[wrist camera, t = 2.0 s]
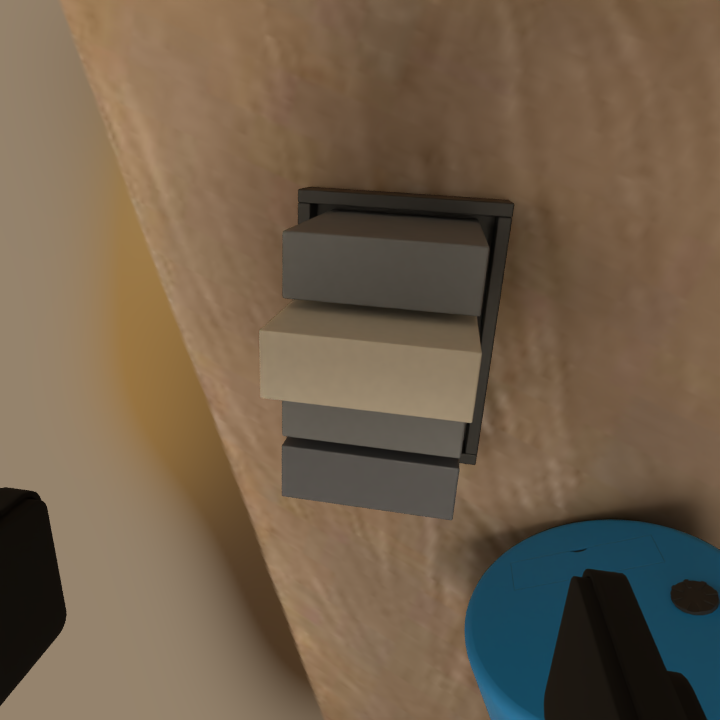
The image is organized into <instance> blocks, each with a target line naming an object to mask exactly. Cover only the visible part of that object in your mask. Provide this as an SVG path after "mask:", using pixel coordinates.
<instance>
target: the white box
mask: <svg viewBox="0 0 720 720" xmlns="http://www.w3.org/2000/svg"><path fill="white" fill-rule="evenodd" d="M259 341H260V397H261V398H266V399H274V400H282V401H291V402H299V403H308V404H316V405H324V406H333V407H341V408H349V409H358V410H366V411H375V412H383V413H391V414H400V415H408V416H416V417H425V418H433V419H441V420H450V421H458V422H467V423H472V421H473V414H474V407H475V400H476V393H477V386H478V379H479V372H480V365H481V358H482V350H481V343H480V337H479V330H478V323H477V316H467V315H457V314H446V313H435V312H425V311H414V310H404V309H393V308H382V307H372V306H361V305H351V304H340V303H329V302H319V301H308V300H297V299H294V300H293V301H292V302H290V303H289V304H288V305H287V306H286V307H285V308H284V309H283V310H282V311H280V312H279V313H278V314H277V315H276V316H275V317H274V318H273V319H271V320H270V321H269V322H268V323H267V324H266V325H265V326H264V327H263V328H261V329H260V331H259Z"/></svg>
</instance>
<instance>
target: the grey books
mask: <svg viewBox="0 0 720 720" xmlns="http://www.w3.org/2000/svg"><path fill="white" fill-rule="evenodd" d="M488 256H489V246H488V243H487V241H486V238H485V235H484V233H483V230H482V228H481V225H480V223H479V220H478V219H471V218H457V217H443V216H429V215H415V214H401V213H387V212H373V211H359V210H345V209H332V210H330V211H328V212H325V213H323V214H321V215H319V216H316V217H314V218H312V219H309V220H307V221H305V222H303V223H300V224H298V225H296V226H293V227H291V228H289V229H287V230H284V231H283V290H282V296H283V298H287V299H297V300H308V301H319V302H329V303H340V304H351V305H361V306H372V307H382V308H393V309H404V310H414V311H425V312H435V313H446V314H457V315H467V316H480V314H481V307H482V300H483V293H484V285H485V278H486V271H487V263H488ZM465 423H466V422H458V421H450V420H441V419H433V418H425V417H416V416H408V415H400V414H391V413H383V412H375V411H366V410H358V409H349V408H341V407H333V406H324V405H316V404H308V403H299V402H291V401H282V434H283V436H288V437H287V438H286V440H285V442H284V443H283V445H282V496H285V497H292V498H299V499H306V500H313V501H320V502H327V503H334V504H341V505H348V506H355V507H362V508H369V509H376V510H383V511H390V512H397V513H404V514H411V515H418V516H425V517H432V518H439V519H446V520H452V519H453V511H454V504H455V497H456V490H457V482H458V475H459V458H460V457H461V453H462V445H463V438H464V431H465Z"/></svg>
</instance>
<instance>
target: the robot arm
mask: <svg viewBox="0 0 720 720" xmlns="http://www.w3.org/2000/svg"><path fill="white" fill-rule="evenodd" d="M65 621H66V607H65V602H64V596H63V591H62V585H61V580H60V575H59V569H58V564H57V558H56V553H55V548H54V542H53V537H52V532H51V526H50V521H49V515H48V510H47V506H46V504H45V503H44V502H43V501H41V498H40V496H39V495H38V494H37V493H36V492H34V491H29V490H21V489H14V488H7V487H5V488H0V706H1V704H2V703H3V702H4V701H5V699H6V698H7V697H8V696H9V695H10V693H11V692H12V691H13V690H14V688H15V687H16V686H17V685H18V684H19V683H20V681H21V680H22V679H23V678H24V676H25V675H26V674H27V673H28V672H29V670H30V669H31V668H32V667H33V665H34V664H35V663H36V662H37V661H38V659H39V658H40V657H41V656H42V655H43V653H44V652H45V651H46V650H47V649H48V647H49V646H50V645H51V643H52V642H53V641H54V640H55V639H56V638H57V636H58V635H59V634H60V632H61V631H62V629H63V627H64V624H65ZM544 718H545V720H707V718H706V716H705V713H704V711H703V709H702V707H701V705H700V703H699V700H698V698H697V696H696V694H695V692H694V690H693V688H692V686H691V684H690V683H689V681H688V679H687V678H686V677H685V676H684V675H683V674H681V673H678V672H673V671H667V669H666V667H665V665H664V662H663V660H662V658H661V655H660V653H659V651H658V648H657V646H656V644H655V641H654V639H653V637H652V634H651V632H650V630H649V627H648V625H647V623H646V620H645V618H644V615H643V613H642V611H641V608H640V606H639V604H638V601H637V599H636V597H635V594H634V592H633V590H632V587H631V585H630V583H629V580H628V579H627V577H626V575H624V574H623V573H617V572H610V571H602V570H595V569H586V570H585V571H584V572H583V576H582V577H578V576H573V577H572V578H571V581H570V585H569V589H568V593H567V598H566V602H565V606H564V611H563V615H562V620H561V624H560V628H559V633H558V637H557V641H556V646H555V650H554V655H553V659H552V663H551V668H550V672H549V676H548V681H547V685H546V690H545V695H544Z"/></svg>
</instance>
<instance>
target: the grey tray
mask: <svg viewBox="0 0 720 720" xmlns="http://www.w3.org/2000/svg"><path fill="white" fill-rule="evenodd" d="M298 202H299V203H298V224H300V223H303V222H305V221H307V220H309V219H312V218H314V217H316V216H319V215H321V214H323V213H325V212H328V211H330V210H332V209H345V210H359V211H373V212H387V213H401V214H415V215H429V216H443V217H457V218H471V219H478V220H479V223H480V225H481V228H482V230H483V233H484V235H485V238H486V241H487V243H488V246H489V256H488V263H487V271H486V278H485V285H484V293H483V300H482V307H481V314H480V316H477V323H478V330H479V337H480V343H481V350H482V358H481V365H480V372H479V379H478V386H477V393H476V400H475V407H474V414H473V421H472V423H467V422H466V423H465V431H464V438H463V445H462V453H461V457H460V458H459V463H464V464H472V465H475V464H476V457H477V450H478V444H479V437H480V430H481V423H482V417H483V410H484V403H485V397H486V390H487V383H488V377H489V370H490V363H491V356H492V350H493V343H494V336H495V330H496V323H497V316H498V310H499V303H500V296H501V289H502V283H503V276H504V269H505V263H506V256H507V249H508V242H509V236H510V229H511V222H512V218H511V217H512V216H513V209H514V203H512V202H511V201H509V200H501V199H486V198H471V197H456V196H441V195H426V194H411V193H396V192H381V191H365V190H350V189H335V188H320V187H307V188H302V189H299V190H298Z"/></svg>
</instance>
